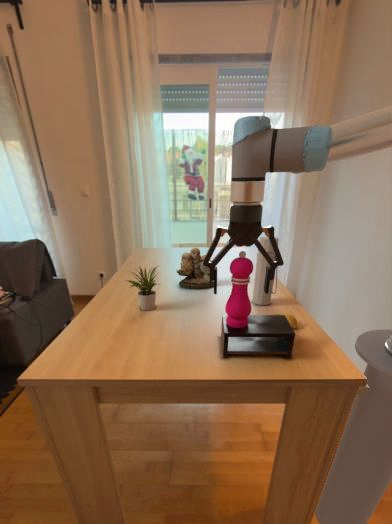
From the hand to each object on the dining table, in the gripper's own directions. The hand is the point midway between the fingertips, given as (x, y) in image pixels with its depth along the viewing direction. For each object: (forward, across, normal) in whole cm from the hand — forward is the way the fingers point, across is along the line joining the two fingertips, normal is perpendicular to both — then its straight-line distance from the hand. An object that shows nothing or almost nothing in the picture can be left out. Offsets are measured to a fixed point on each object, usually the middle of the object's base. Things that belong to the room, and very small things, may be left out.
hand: (240, 292), depth 76 cm
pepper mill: (+10, 0, 0) cm, 10 cm away
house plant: (+17, +32, -31) cm, 48 cm away
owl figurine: (+17, +14, -57) cm, 61 cm away
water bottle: (+18, -14, -35) cm, 42 cm away
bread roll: (+18, -17, -15) cm, 29 cm away
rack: (+17, -5, 0) cm, 18 cm away
